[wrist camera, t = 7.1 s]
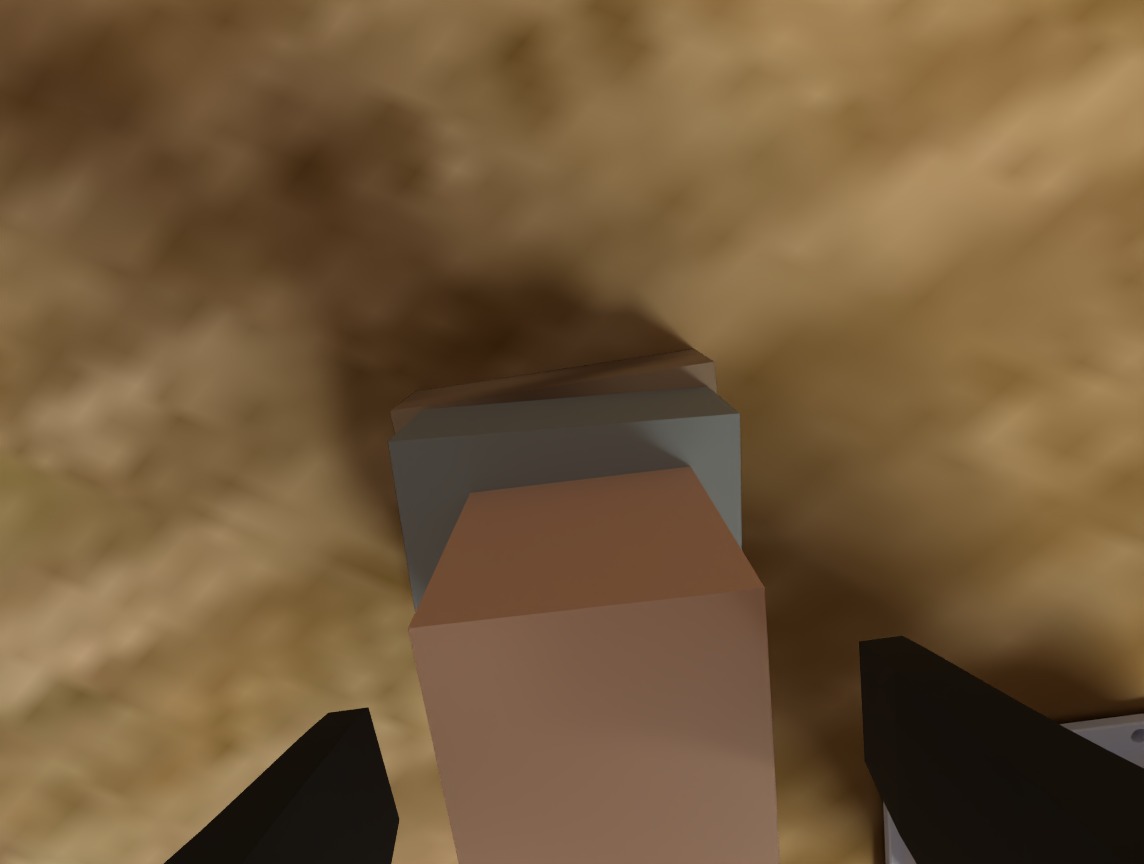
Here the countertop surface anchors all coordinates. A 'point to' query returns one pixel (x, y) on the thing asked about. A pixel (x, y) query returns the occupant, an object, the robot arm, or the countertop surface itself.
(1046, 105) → the countertop surface
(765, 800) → the terracotta block
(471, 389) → the base slab
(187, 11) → the countertop surface
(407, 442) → the top slab
